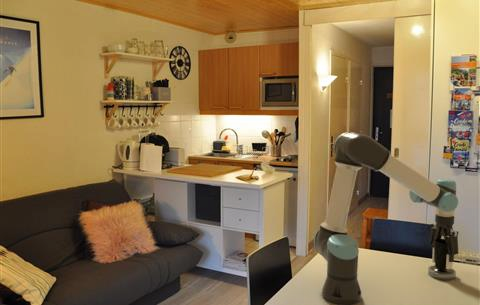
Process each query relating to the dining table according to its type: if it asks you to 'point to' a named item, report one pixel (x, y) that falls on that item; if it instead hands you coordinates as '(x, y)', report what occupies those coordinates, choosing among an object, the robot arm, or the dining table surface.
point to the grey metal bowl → (441, 273)
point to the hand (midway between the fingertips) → (442, 264)
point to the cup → (440, 254)
